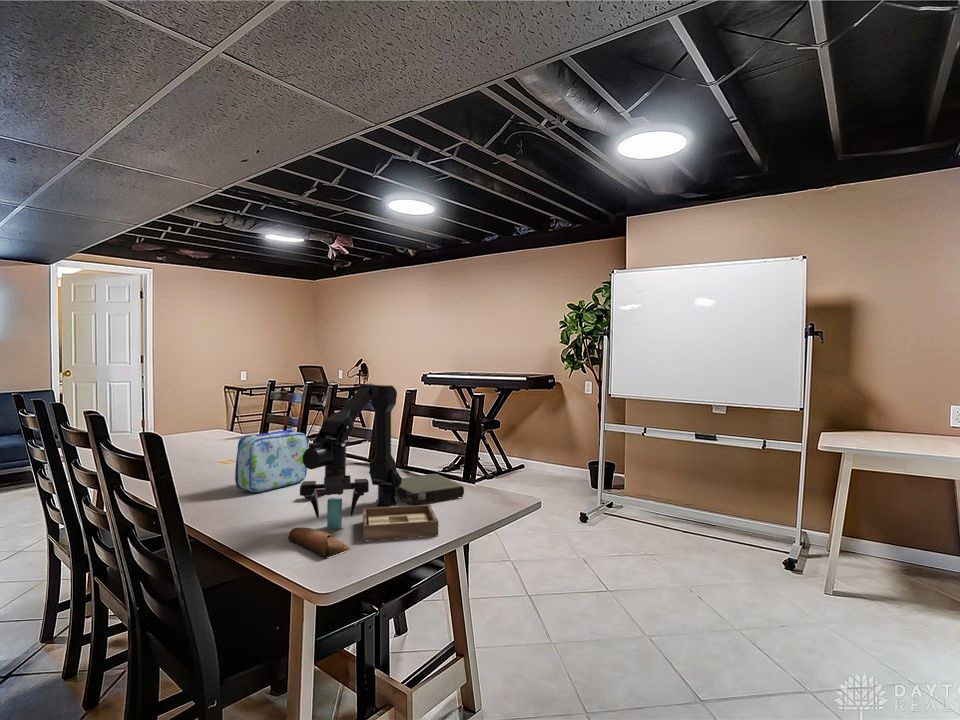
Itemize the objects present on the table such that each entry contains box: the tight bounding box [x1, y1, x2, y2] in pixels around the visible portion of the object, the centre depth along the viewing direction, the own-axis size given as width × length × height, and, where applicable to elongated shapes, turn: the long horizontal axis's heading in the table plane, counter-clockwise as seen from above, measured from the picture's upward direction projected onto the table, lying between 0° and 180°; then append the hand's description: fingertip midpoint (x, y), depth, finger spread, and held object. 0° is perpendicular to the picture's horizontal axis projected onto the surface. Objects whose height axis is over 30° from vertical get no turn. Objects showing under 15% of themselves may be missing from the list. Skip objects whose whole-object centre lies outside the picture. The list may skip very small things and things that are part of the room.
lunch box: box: [234, 429, 309, 493], centre depth 186 cm, size 26×11×21 cm, turn 149°
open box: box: [362, 504, 440, 542], centre depth 142 cm, size 16×20×4 cm
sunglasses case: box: [287, 526, 351, 559], centre depth 128 cm, size 18×7×7 cm
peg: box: [326, 497, 343, 530], centre depth 142 cm, size 4×4×8 cm
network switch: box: [395, 473, 465, 506], centre depth 178 cm, size 23×24×5 cm
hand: (334, 516), depth 142 cm, fingers open, 9 cm apart
